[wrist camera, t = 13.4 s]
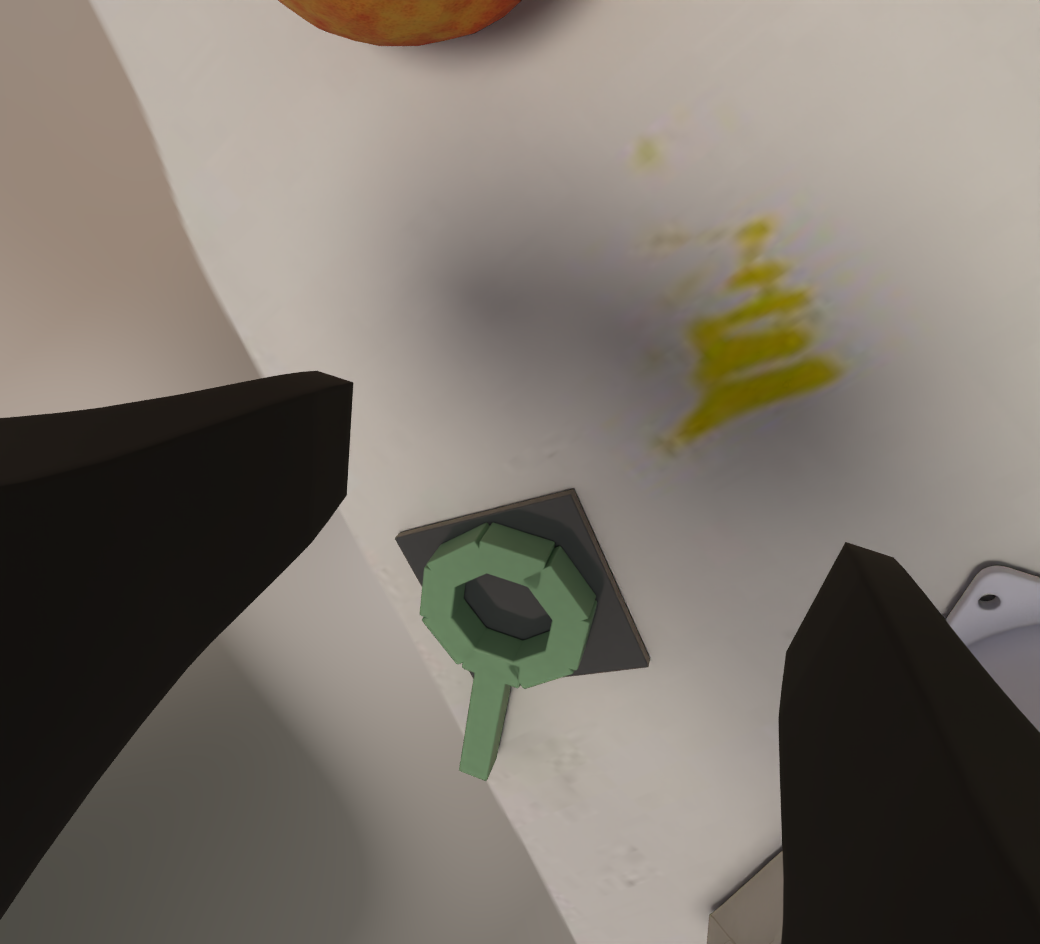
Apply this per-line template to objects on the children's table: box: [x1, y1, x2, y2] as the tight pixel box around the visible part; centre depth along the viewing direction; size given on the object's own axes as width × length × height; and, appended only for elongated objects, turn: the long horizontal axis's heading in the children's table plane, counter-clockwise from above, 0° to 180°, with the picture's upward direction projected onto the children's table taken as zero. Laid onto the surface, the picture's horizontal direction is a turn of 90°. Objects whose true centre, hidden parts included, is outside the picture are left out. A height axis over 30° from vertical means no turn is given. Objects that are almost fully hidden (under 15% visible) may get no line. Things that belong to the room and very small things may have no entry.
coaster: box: [395, 489, 650, 679], centre depth 25 cm, size 7×7×1 cm
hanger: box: [420, 523, 597, 781], centre depth 26 cm, size 11×6×1 cm, turn 171°
